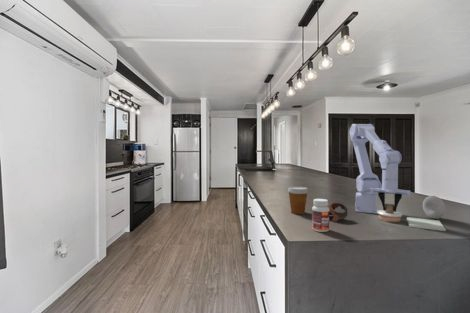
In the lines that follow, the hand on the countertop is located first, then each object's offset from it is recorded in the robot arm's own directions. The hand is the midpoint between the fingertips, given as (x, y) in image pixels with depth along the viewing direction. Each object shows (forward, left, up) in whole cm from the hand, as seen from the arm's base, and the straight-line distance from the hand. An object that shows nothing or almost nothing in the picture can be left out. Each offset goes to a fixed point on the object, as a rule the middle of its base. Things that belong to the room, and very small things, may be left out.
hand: (389, 210), depth 107 cm
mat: (+12, -1, -4) cm, 13 cm away
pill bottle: (-22, -29, -4) cm, 37 cm away
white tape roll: (+17, +12, -4) cm, 21 cm away
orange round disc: (0, 0, -4) cm, 4 cm away
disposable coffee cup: (-38, -8, -4) cm, 39 cm away
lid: (0, 0, -1) cm, 1 cm away
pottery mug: (-21, -11, -4) cm, 24 cm away
